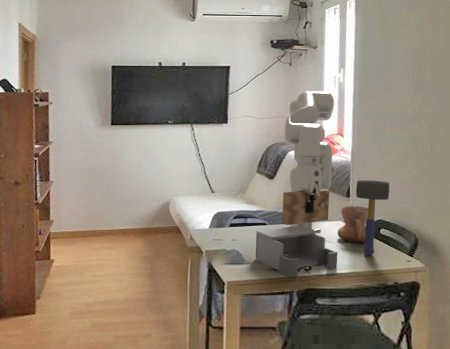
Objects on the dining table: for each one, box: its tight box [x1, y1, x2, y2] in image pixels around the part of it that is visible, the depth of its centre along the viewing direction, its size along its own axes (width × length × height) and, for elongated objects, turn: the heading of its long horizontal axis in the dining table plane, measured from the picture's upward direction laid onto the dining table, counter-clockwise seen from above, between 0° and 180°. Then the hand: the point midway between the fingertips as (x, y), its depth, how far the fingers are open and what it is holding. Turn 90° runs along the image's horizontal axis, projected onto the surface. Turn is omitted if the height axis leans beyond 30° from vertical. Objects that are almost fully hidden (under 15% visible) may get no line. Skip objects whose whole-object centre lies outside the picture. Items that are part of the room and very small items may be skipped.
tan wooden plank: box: [281, 189, 330, 226], centre depth 201 cm, size 18×4×11 cm, turn 119°
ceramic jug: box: [337, 205, 368, 243], centre depth 244 cm, size 18×14×14 cm
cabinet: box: [255, 226, 338, 278], centre depth 210 cm, size 22×22×11 cm
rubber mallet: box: [355, 179, 390, 256], centre depth 221 cm, size 12×8×30 cm, turn 75°
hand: (306, 211), depth 202 cm, fingers closed on tan wooden plank, 3 cm apart
